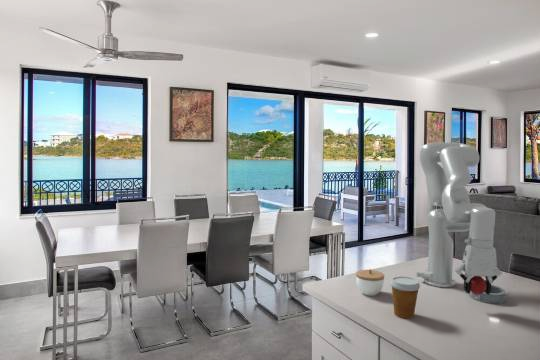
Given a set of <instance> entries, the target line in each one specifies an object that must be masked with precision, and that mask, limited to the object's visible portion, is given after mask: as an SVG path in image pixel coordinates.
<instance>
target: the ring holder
mask: <svg viewBox="0 0 540 360" xmlns="http://www.w3.org/2000/svg"><path fill="white" fill-rule="evenodd" d="M506 292H507V291H506V290H505V289H503V288H502V287H500V286H497V285H495V284H494V285H493V284H491V291H490V294H486V293H485V292H483V293H482V294H480V295H475V294H473V293H472V292H471V291H470V293H469V294H468V296H469V297H470V298H471V299H473V300H474V301H478V302H480V303H485V304H493V305H497V304H498V305H499V304H503V303H505V301H506Z"/></svg>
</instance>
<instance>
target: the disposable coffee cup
mask: <svg viewBox="0 0 540 360" xmlns="http://www.w3.org/2000/svg"><path fill="white" fill-rule="evenodd" d="M389 283H390V286H391V291H392V292H391V293H392V301H393V302H392V305H393V313H394V316H396V317H398V318H401V319H413V318H414V316H415V310H416V304H417V300H418V294H419V290H420V288H421V285H420V282H419V280H418V279H416V278H413V277H410V276H403V275H402V276H401V275H400V276H398V275H397V276H394V277H392V278H391V280H390V282H389Z"/></svg>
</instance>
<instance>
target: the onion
mask: <svg viewBox="0 0 540 360" xmlns="http://www.w3.org/2000/svg"><path fill="white" fill-rule="evenodd" d="M485 280H486V279H484V278H483V276H472V277H471V279H470V281H469V282H470V283H471V287H470V291H471V292H472V293H473V294H475V295H480V294H482V293H483V292H485V290H486V282H485Z"/></svg>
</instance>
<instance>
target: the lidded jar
mask: <svg viewBox="0 0 540 360" xmlns="http://www.w3.org/2000/svg"><path fill="white" fill-rule="evenodd" d="M355 277H356V278H355V279H356V280H355V281H356V282H355V283H356V287H357V288H358V290H359V291H360V292H361V294H363V295H365V296H369V297H370V296H371V297H373V296H374V297H375V296H378V294H379V293H380V292H381V291H382V289H383V287H384V284H385V274H384V273H383V272H382V271H378V270H374V269H370V268H369V269H362V270H361V269H360V270H357V271H356V272H355Z"/></svg>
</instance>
